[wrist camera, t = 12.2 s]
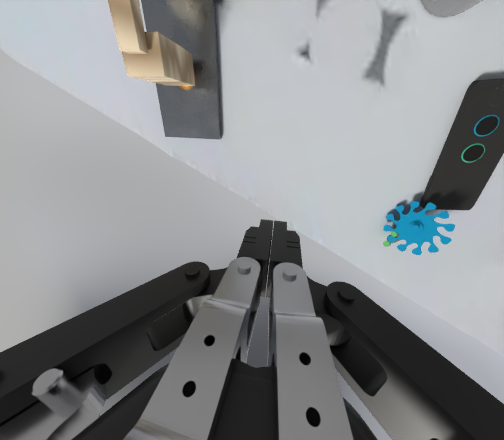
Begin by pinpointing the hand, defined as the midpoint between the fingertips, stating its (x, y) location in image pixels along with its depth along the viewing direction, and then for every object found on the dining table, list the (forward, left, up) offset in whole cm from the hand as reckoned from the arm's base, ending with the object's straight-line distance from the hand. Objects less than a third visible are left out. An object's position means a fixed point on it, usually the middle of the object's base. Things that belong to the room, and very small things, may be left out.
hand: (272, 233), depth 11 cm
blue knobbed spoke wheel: (-16, +23, -29) cm, 41 cm away
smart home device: (-27, +14, -30) cm, 43 cm away
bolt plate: (+7, -22, -29) cm, 37 cm away
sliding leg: (+5, -26, -27) cm, 38 cm away
